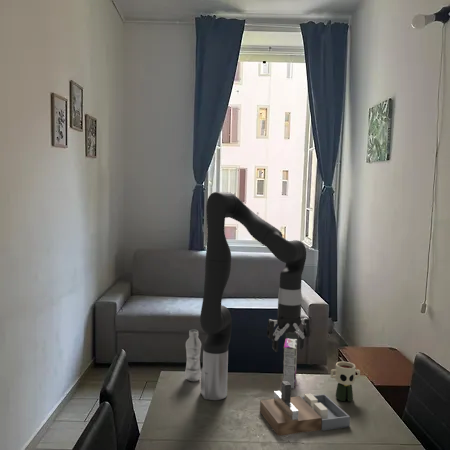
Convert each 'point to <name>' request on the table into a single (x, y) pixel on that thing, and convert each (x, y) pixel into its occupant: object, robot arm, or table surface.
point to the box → (332, 414)
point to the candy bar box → (290, 361)
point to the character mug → (345, 379)
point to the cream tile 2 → (321, 410)
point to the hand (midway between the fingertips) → (287, 350)
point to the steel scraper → (286, 400)
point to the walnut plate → (282, 421)
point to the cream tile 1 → (310, 399)
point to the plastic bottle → (193, 356)
